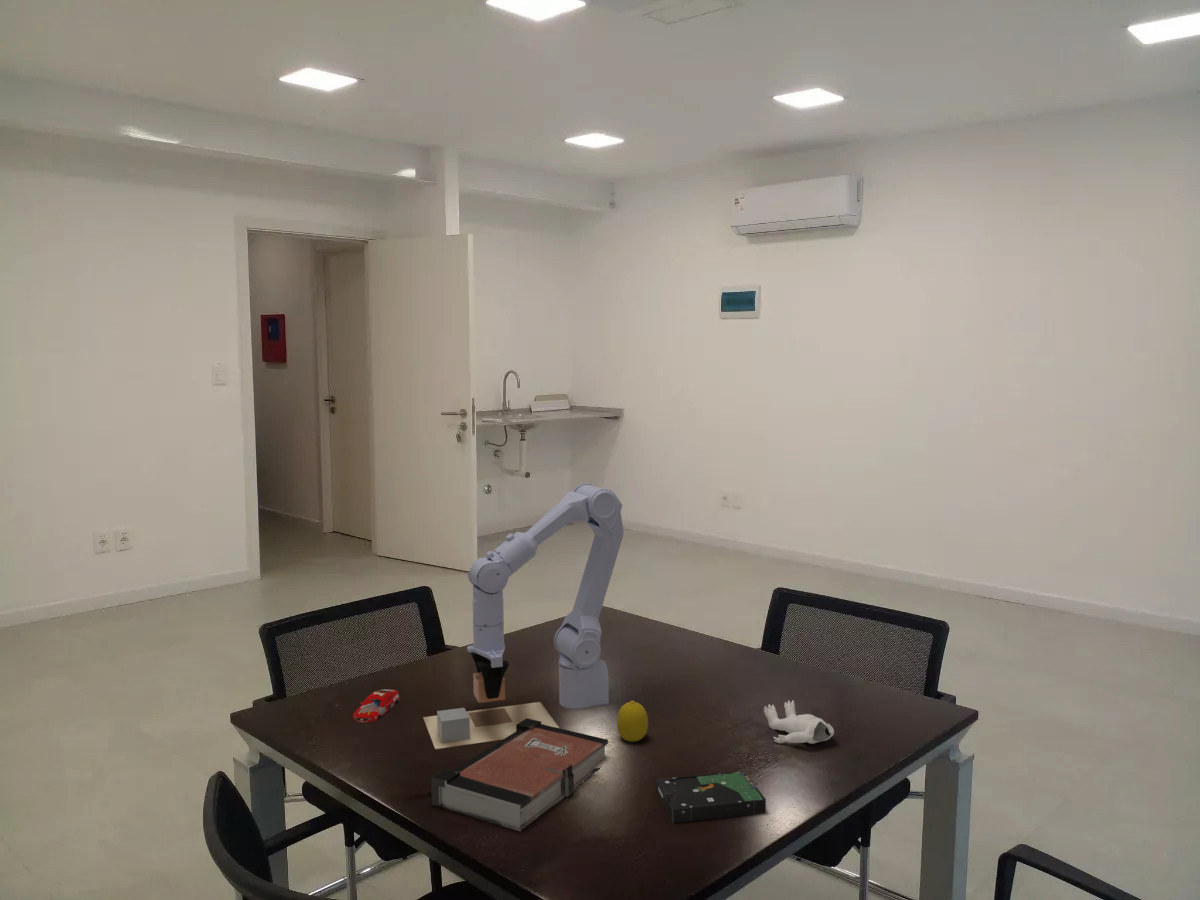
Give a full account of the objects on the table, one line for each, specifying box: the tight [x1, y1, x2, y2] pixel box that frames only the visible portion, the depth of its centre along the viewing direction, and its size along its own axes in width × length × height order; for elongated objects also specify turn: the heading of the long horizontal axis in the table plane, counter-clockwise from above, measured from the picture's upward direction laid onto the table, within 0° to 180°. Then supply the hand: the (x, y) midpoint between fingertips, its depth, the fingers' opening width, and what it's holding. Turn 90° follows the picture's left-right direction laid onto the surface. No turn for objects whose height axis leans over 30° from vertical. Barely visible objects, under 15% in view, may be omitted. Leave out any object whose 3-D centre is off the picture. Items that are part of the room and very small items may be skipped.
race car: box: [352, 688, 401, 723], centre depth 178 cm, size 13×5×4 cm, turn 167°
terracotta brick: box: [472, 672, 506, 704], centre depth 173 cm, size 5×5×4 cm
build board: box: [422, 701, 560, 750], centre depth 171 cm, size 23×15×1 cm, turn 109°
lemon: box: [616, 699, 649, 743], centre depth 164 cm, size 6×6×8 cm
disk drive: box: [655, 771, 767, 824], centre depth 142 cm, size 10×3×15 cm
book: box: [430, 718, 609, 832], centre depth 149 cm, size 26×18×5 cm
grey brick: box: [436, 707, 470, 743], centre depth 165 cm, size 5×5×4 cm
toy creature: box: [763, 699, 835, 745], centre depth 167 cm, size 12×6×12 cm
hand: (489, 692), depth 173 cm, fingers closed on terracotta brick, 5 cm apart
